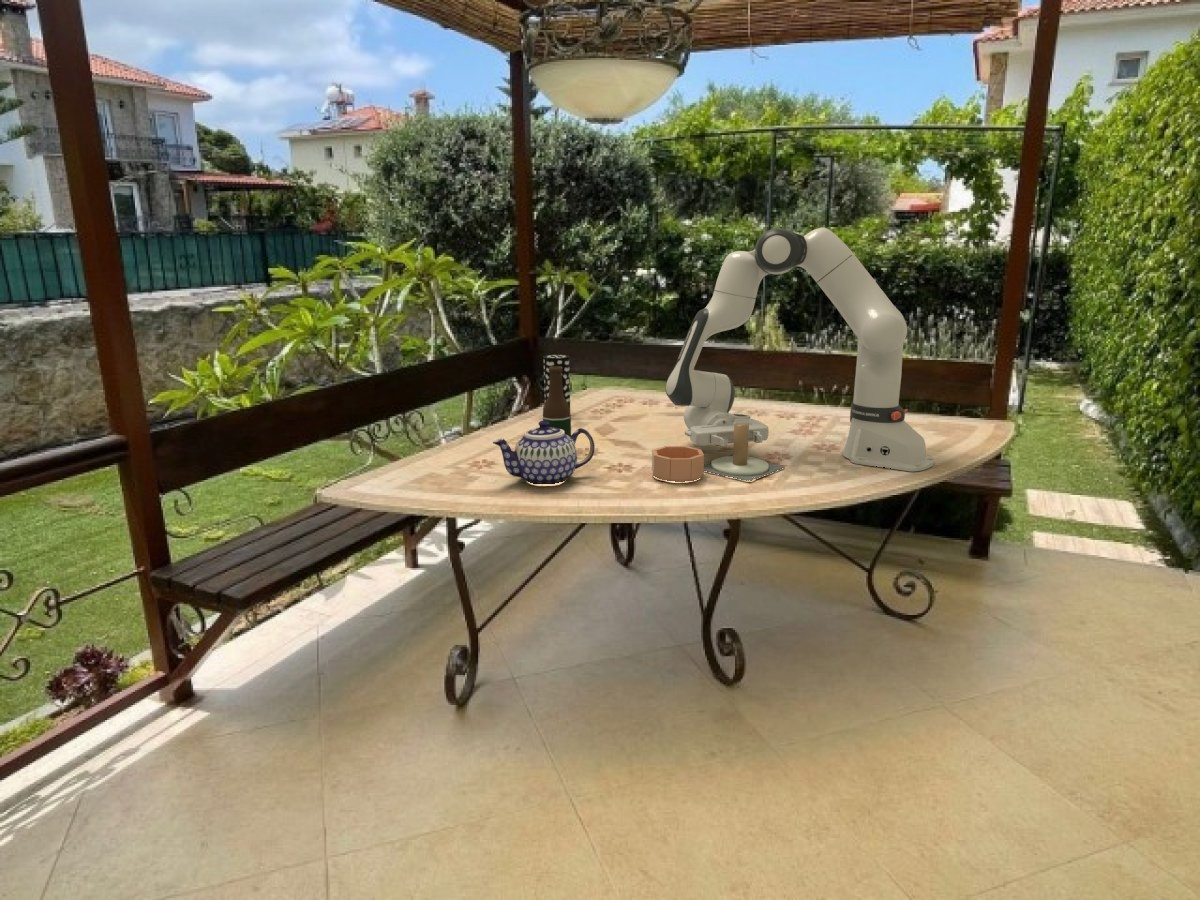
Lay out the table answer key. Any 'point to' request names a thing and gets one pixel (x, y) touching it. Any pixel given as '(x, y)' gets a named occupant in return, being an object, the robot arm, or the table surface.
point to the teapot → (544, 454)
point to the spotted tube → (564, 363)
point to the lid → (740, 456)
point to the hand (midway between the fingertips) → (742, 441)
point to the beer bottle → (557, 403)
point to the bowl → (677, 463)
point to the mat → (771, 469)
